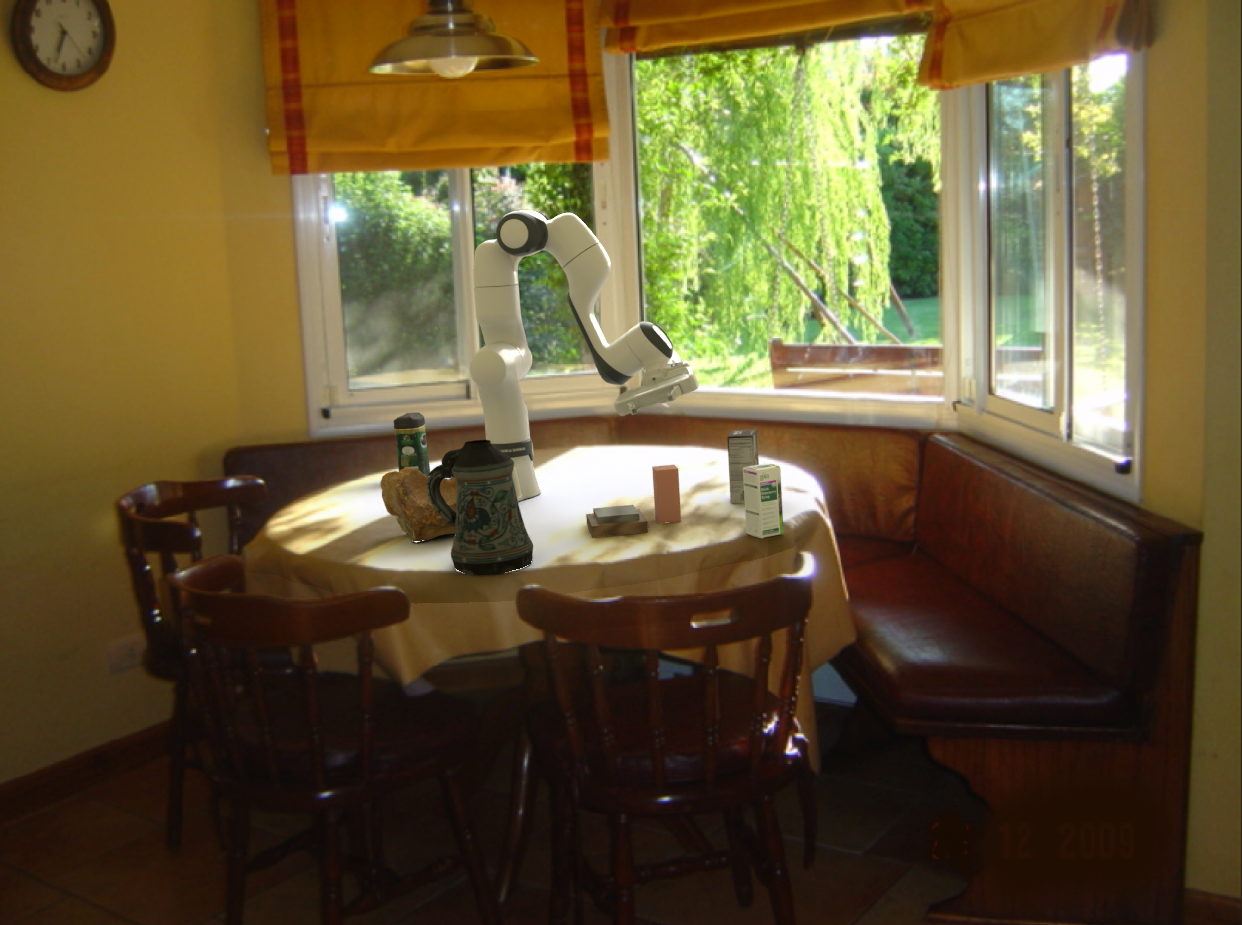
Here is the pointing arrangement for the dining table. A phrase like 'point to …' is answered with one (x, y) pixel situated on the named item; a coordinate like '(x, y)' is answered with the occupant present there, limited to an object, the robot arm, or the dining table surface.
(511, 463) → the beer stein
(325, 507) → the dining table surface
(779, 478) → the syrup box
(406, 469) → the rough brown rock
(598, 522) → the podium
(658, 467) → the carton
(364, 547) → the dining table surface
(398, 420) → the coffee jar
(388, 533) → the dining table surface
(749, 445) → the coffee box
